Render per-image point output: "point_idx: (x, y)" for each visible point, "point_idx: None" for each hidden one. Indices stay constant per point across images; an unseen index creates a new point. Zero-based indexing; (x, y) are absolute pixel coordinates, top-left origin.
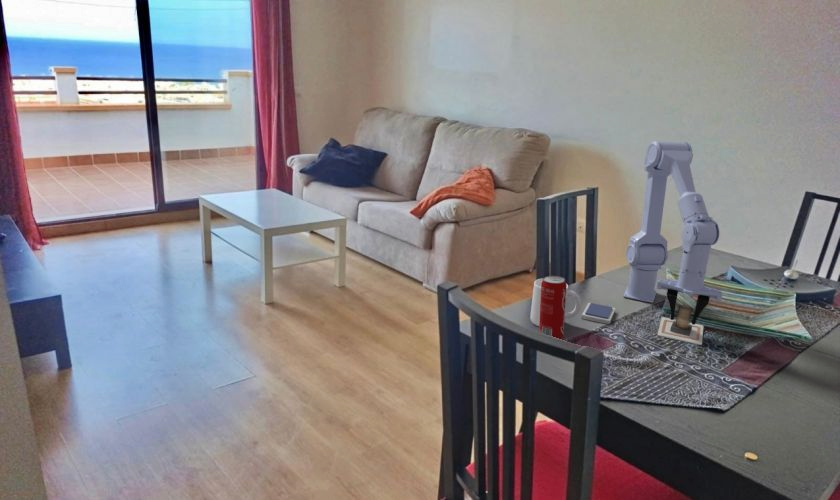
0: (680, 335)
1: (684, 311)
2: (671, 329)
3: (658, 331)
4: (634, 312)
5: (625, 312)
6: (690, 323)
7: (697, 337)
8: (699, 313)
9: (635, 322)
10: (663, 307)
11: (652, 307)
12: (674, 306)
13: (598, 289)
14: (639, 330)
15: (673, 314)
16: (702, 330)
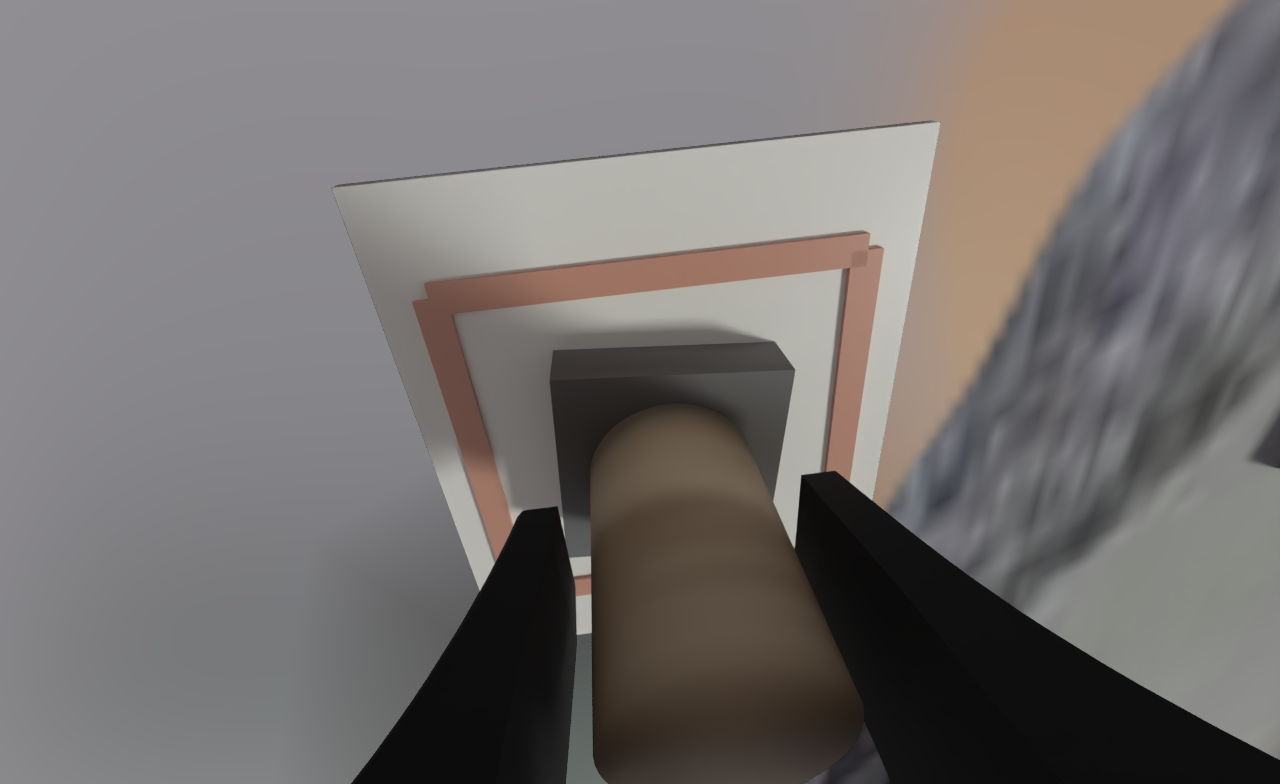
0: (647, 289)
1: (725, 622)
2: (771, 356)
3: (915, 242)
4: (1078, 554)
5: (1167, 512)
6: None
7: (453, 360)
8: (423, 691)
9: (1130, 359)
10: None
11: None
12: (978, 660)
13: (1251, 718)
14: (1145, 151)
15: (861, 526)
16: (472, 557)
